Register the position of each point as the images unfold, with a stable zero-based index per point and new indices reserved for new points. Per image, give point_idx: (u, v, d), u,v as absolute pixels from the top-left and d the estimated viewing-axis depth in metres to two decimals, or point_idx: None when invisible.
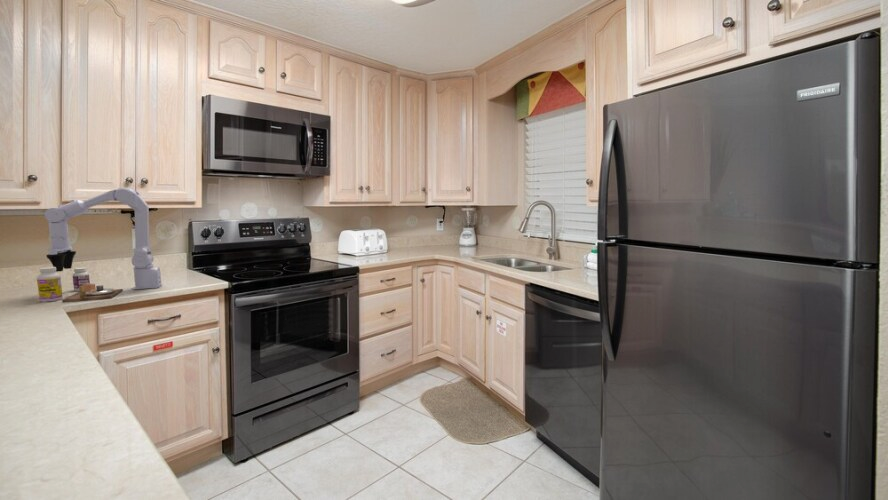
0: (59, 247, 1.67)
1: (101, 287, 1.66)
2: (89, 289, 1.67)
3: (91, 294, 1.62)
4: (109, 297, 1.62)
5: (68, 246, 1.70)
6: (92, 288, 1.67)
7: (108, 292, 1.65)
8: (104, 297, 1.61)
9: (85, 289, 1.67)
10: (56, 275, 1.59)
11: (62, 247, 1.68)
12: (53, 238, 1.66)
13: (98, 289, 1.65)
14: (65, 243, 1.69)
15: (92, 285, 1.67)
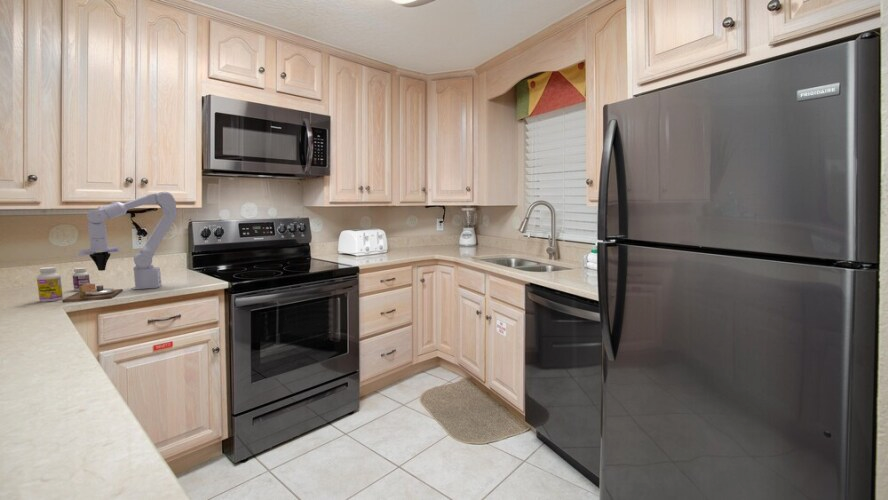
0: (93, 248, 1.69)
1: (101, 287, 1.66)
2: (89, 289, 1.67)
3: (91, 294, 1.62)
4: (109, 297, 1.62)
5: (102, 247, 1.71)
6: (92, 288, 1.67)
7: (108, 292, 1.65)
8: (104, 297, 1.61)
9: (85, 289, 1.67)
10: (56, 275, 1.59)
11: (95, 248, 1.69)
12: None
13: (98, 289, 1.65)
14: (98, 244, 1.70)
15: (92, 285, 1.67)
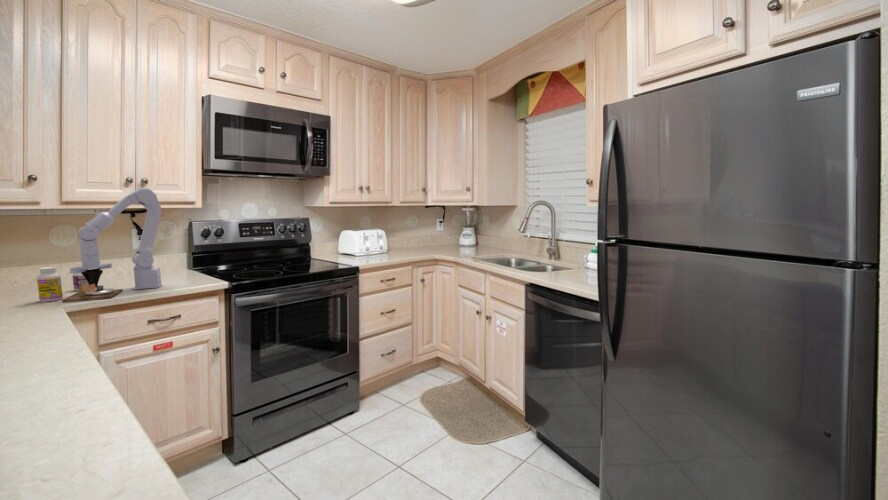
0: (84, 265, 1.66)
1: (101, 287, 1.66)
2: (89, 289, 1.67)
3: (91, 294, 1.62)
4: (109, 297, 1.62)
5: (94, 264, 1.68)
6: (92, 288, 1.67)
7: (108, 292, 1.65)
8: (104, 297, 1.61)
9: (85, 289, 1.67)
10: (56, 275, 1.59)
11: (87, 265, 1.67)
12: (81, 256, 1.67)
13: (98, 289, 1.65)
14: (90, 261, 1.67)
15: (92, 285, 1.67)
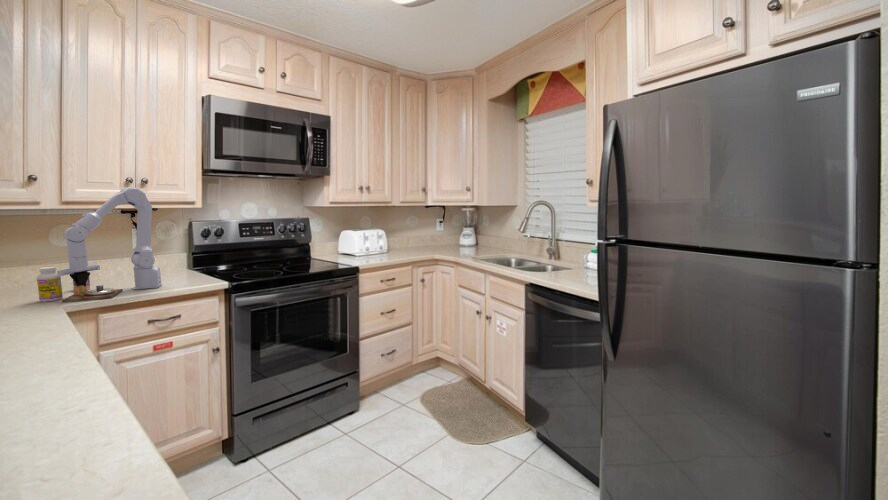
0: (72, 267, 1.62)
1: (102, 287, 1.67)
2: (85, 291, 1.64)
3: (101, 293, 1.63)
4: (109, 297, 1.62)
5: (82, 266, 1.63)
6: (87, 289, 1.65)
7: None
8: (104, 297, 1.61)
9: (77, 291, 1.63)
10: (56, 275, 1.59)
11: (75, 268, 1.62)
12: (68, 258, 1.62)
13: (100, 289, 1.66)
14: (78, 263, 1.62)
15: (87, 286, 1.65)
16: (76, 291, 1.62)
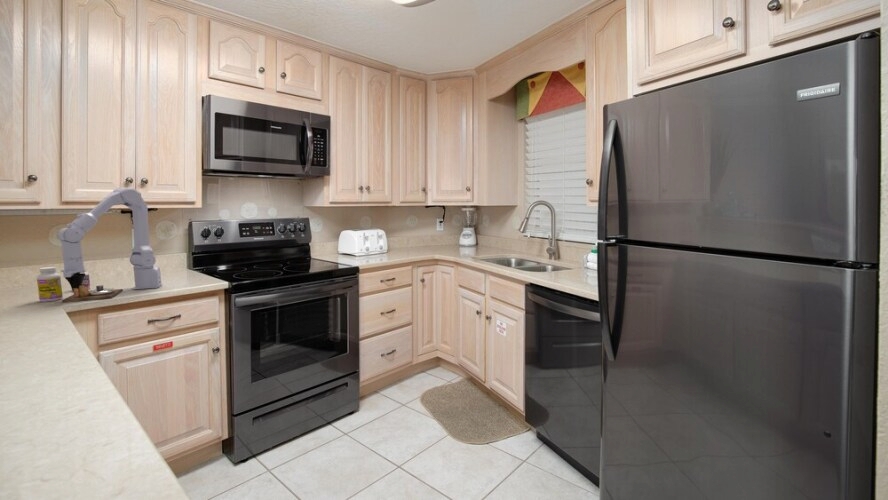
0: (73, 269, 1.58)
1: None
2: (87, 291, 1.62)
3: (109, 292, 1.66)
4: (109, 297, 1.62)
5: (82, 267, 1.61)
6: None
7: None
8: (104, 297, 1.61)
9: (79, 292, 1.60)
10: (56, 275, 1.59)
11: (76, 269, 1.59)
12: (66, 259, 1.57)
13: (102, 288, 1.66)
14: (79, 264, 1.60)
15: None
16: (78, 292, 1.60)
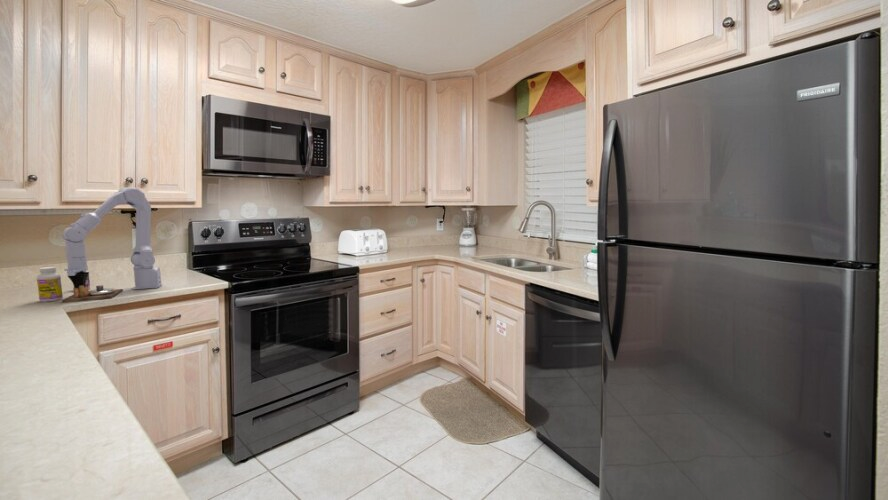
0: (76, 267, 1.61)
1: None
2: (87, 291, 1.62)
3: (109, 292, 1.66)
4: (109, 297, 1.62)
5: (85, 266, 1.64)
6: None
7: None
8: (104, 297, 1.61)
9: (79, 292, 1.60)
10: (56, 275, 1.59)
11: (79, 267, 1.62)
12: (70, 258, 1.60)
13: (102, 288, 1.66)
14: (82, 263, 1.63)
15: None
16: (78, 292, 1.60)
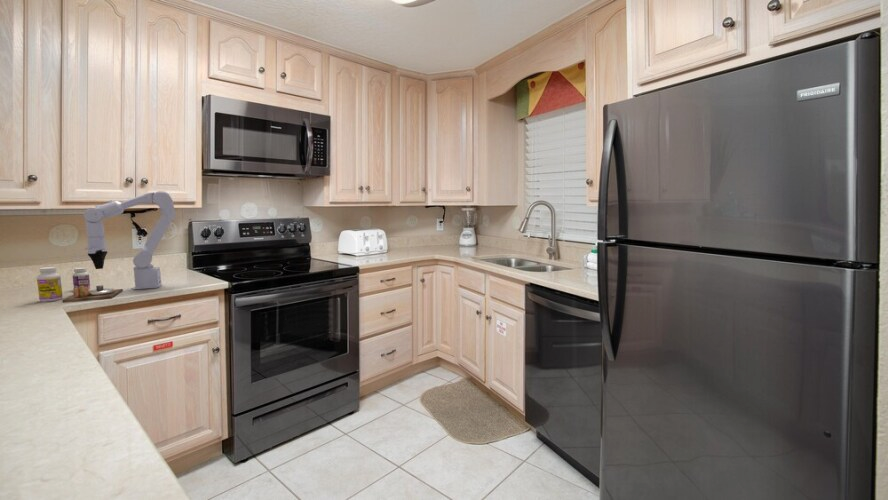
0: (96, 246, 1.71)
1: None
2: (87, 291, 1.62)
3: (109, 292, 1.66)
4: (109, 297, 1.62)
5: (104, 245, 1.73)
6: None
7: None
8: (104, 297, 1.61)
9: (79, 292, 1.60)
10: (56, 275, 1.59)
11: (99, 246, 1.71)
12: (90, 237, 1.70)
13: (102, 288, 1.66)
14: (101, 242, 1.72)
15: None
16: (78, 292, 1.60)
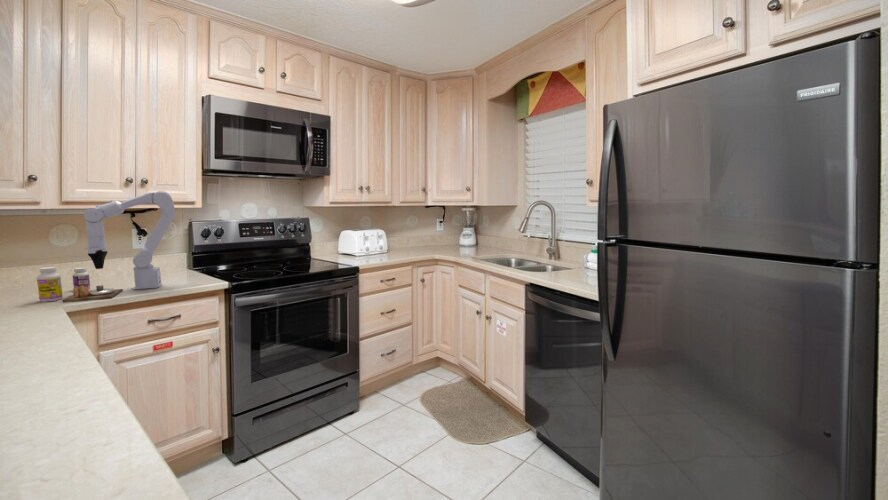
0: (96, 246, 1.71)
1: None
2: (87, 291, 1.62)
3: (109, 292, 1.66)
4: (109, 297, 1.62)
5: (104, 245, 1.73)
6: None
7: None
8: (104, 297, 1.61)
9: (79, 292, 1.60)
10: (56, 275, 1.59)
11: (99, 246, 1.71)
12: (90, 237, 1.70)
13: (102, 288, 1.66)
14: (102, 242, 1.72)
15: None
16: (78, 292, 1.60)
